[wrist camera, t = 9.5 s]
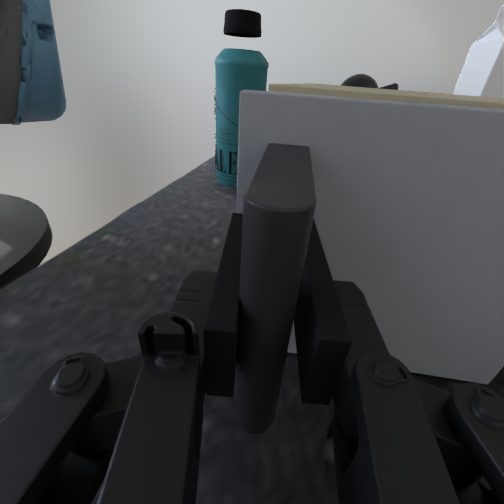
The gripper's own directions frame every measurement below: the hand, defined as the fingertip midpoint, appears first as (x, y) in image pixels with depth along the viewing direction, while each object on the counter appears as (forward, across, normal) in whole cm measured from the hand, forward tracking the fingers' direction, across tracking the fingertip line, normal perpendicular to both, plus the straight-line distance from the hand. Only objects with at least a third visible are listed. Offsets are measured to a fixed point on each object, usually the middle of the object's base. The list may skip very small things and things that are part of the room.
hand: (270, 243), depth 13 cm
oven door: (-3, +6, -8) cm, 10 cm away
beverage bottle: (+28, -4, -8) cm, 29 cm away
